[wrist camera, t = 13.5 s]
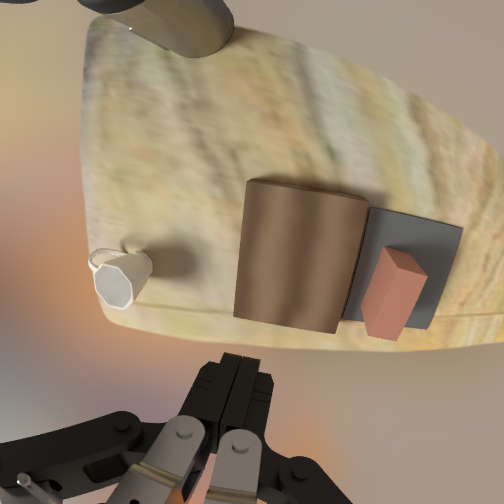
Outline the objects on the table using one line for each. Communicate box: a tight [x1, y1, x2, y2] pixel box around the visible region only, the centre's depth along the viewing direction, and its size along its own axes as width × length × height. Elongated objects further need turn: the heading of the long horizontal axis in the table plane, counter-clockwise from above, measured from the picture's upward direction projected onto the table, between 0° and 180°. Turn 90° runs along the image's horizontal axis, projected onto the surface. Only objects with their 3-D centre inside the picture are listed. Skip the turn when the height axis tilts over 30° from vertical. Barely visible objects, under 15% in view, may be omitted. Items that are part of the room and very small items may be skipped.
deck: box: [233, 179, 369, 334], centre depth 37 cm, size 14×18×3 cm
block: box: [360, 246, 428, 341], centre depth 33 cm, size 7×9×4 cm
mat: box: [342, 207, 462, 329], centre depth 36 cm, size 14×16×1 cm
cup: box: [89, 248, 153, 310], centre depth 39 cm, size 7×10×8 cm
